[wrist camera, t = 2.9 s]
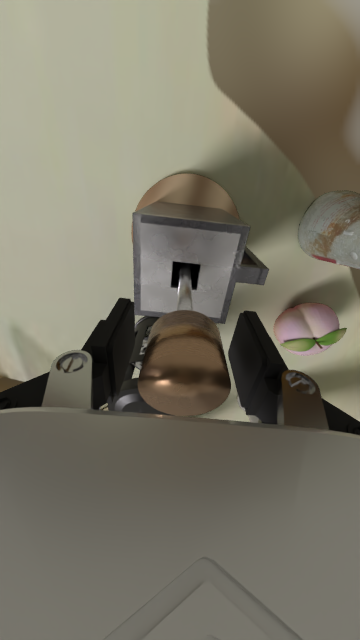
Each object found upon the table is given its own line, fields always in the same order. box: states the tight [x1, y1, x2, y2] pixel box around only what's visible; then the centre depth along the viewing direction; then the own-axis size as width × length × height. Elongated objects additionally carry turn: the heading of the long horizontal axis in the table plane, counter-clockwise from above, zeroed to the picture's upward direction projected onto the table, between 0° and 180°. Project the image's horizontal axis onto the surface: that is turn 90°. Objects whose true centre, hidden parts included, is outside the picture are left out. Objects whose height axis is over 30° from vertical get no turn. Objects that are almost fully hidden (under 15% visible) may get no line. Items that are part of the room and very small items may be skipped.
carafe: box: [133, 201, 269, 324], centre depth 24 cm, size 12×9×15 cm
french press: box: [108, 316, 175, 416], centre depth 32 cm, size 12×9×23 cm
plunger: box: [138, 261, 231, 416], centre depth 16 cm, size 6×6×19 cm
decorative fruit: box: [274, 303, 347, 355], centre depth 34 cm, size 9×8×10 cm
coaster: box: [132, 174, 239, 242], centre depth 31 cm, size 16×16×1 cm
